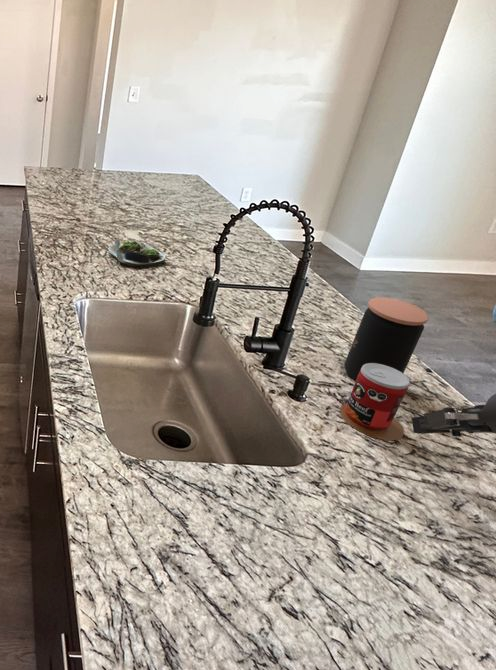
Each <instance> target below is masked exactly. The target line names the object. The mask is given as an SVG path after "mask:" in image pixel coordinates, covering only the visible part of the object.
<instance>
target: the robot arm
mask: <svg viewBox="0 0 496 670" xmlns="http://www.w3.org/2000/svg"><path fill="white" fill-rule="evenodd" d="M492 320H493V323H494V325H496V304H495V306H494V307H493V310H492ZM410 418H411V425H412V431H413V434H421V435H427V434H442V433H443V434H445V433H451V435H452V437H458V438H459V437H462V435H461V433H463V432H464V433H468V434H478V433H479V434H483V433H487V434H496V393H494V394H492V395H491V396H490V397H489V398H488V400H487V401H486V402H485V404H477V405H474V407H465V408H464V407H463V408H462V409H461V411H459V410H458V409H457V408H454V407H451V406H446V407H443V408H442V409H439V410H435V409H432V410H431V411H429V412H426V413H423V415H422V416H413V417H410Z"/></svg>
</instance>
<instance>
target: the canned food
mask: <svg viewBox="0 0 496 670" xmlns="http://www.w3.org/2000/svg"><path fill="white" fill-rule="evenodd" d="M410 383H411V381H410V379H409V377H408V376H407V375H406V374H404V373H402V372H400V371H398V370H396V369H394V368H392V367H389V366H386V365H382V364H376V363H367V364H364V365H363V366H362V368H361V370H360V372H359V374H358V377H357V379H356V381H355V382H354V384H353V387H352V389H351V392H350V394H349V397H348V399H347V402H346V403H345V404H346V414H347V416H348V417H349V418H350V419H351V420H353V421H354V422H356V423H357V424H359V425H361V426H364V427H366V428H370V429H375V430H383V429H386V428H387V427H389V426H390V425H391V423H392V421H393V418H395V416H396V414H397V412H398V410H399V408H400V406H401V403H402V401H403V400H404V398H405V395H406V393H407V392H408V389H409V386H410Z"/></svg>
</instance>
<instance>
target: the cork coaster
mask: <svg viewBox="0 0 496 670" xmlns="http://www.w3.org/2000/svg"><path fill="white" fill-rule="evenodd" d="M346 404H347V403H344V404H343V405H342V406H341V407H340V410H339V413H340V416H341V418H342V419H343V420H344V422H346V423H347V424H348V425H349V426H350V427H351V428H353V429H355V431H358V432H359V433H361V434H363V435H365V436H368V437H371V438H374V439H377V440H382V441H397V440H400V439H402V438H403V437H404V435H405V429H404V427H403V425H402V424H401V423H400V422H399V420H397V419H396V418H395V417H394V418H393V421H392V423H391V425H390V426H389V427H387V428H386V429H383V430H375V429H370V428H366V427H364V426H361V425H359V424H357V423H356V422H354V421H353V420H351V419H350V418H349V417H348V416H347V414H346Z"/></svg>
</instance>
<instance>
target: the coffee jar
mask: <svg viewBox="0 0 496 670" xmlns="http://www.w3.org/2000/svg"><path fill="white" fill-rule="evenodd" d="M367 306H368V307H367V308H366V310H365V311H364V312H363V315H362V318H361V321H360V323H359V325H358V328H357V330H356V333H355V336H354V338H353V341H352V342H351V346H350V348H349V351H348V353H347V356H346V358H345V361H344V369H345V372H346V374H347V376H348V377H349V378H351V379H352V380H353V381H355V382H356V379H357V377H358V374H359V372H360V370H361V368H362V366H363V365H364V364H367V363H376V364H382V365H386V366H389V367H392V368H394V369H396V370H398V371H400V372H402V373H403V374H404V373H405V371H406V370H407V367H408V365H409V362H410V361H411V358H412V355H413V353H414V352H415V349H416V347H417V345H418V342H419V341H420V339H421V336H422V334H423V332H424V329H425V324H427V322H428V321H429V318H430V317H429V315H428V313H427V312H426V311H424V310H423V309H422V308H420V307H418V306H417V305H414V304H412V303H409V302H407V301H404V300H400V299H397V298H391V297H382V296H381V297H373V298H371V299H369V301H368V303H367Z"/></svg>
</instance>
